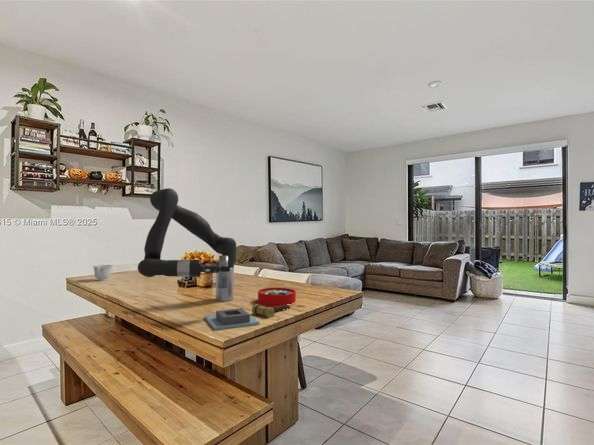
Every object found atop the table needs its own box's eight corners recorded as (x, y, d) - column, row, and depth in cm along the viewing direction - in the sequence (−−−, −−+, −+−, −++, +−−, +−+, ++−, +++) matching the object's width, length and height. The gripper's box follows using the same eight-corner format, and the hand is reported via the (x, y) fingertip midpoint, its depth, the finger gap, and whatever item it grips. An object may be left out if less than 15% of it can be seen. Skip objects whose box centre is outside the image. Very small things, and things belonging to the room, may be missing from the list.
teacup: (87, 282, 214) (87, 267, 214) (96, 278, 229) (96, 264, 229) (107, 282, 217) (107, 267, 217) (114, 278, 231) (115, 264, 231)
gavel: (282, 300, 162) (298, 303, 155) (282, 309, 161) (297, 313, 155) (252, 304, 146) (267, 308, 139) (251, 314, 145) (267, 319, 139)
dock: (204, 317, 138) (204, 308, 138) (244, 313, 146) (245, 304, 146) (214, 330, 122) (214, 319, 122) (259, 324, 130) (259, 314, 130)
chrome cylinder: (217, 287, 143) (218, 255, 143) (225, 286, 145) (227, 255, 145) (219, 288, 139) (220, 256, 140) (228, 288, 141) (229, 256, 141)
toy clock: (259, 287, 180) (295, 287, 181) (259, 297, 180) (295, 298, 180) (256, 294, 160) (296, 295, 161) (255, 306, 160) (295, 307, 160)
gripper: (187, 261, 132) (230, 261, 136) (191, 257, 146) (230, 258, 150) (187, 279, 132) (229, 279, 136) (190, 274, 146) (229, 274, 150)
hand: (229, 268), depth 143 cm, fingers closed on chrome cylinder, 4 cm apart
